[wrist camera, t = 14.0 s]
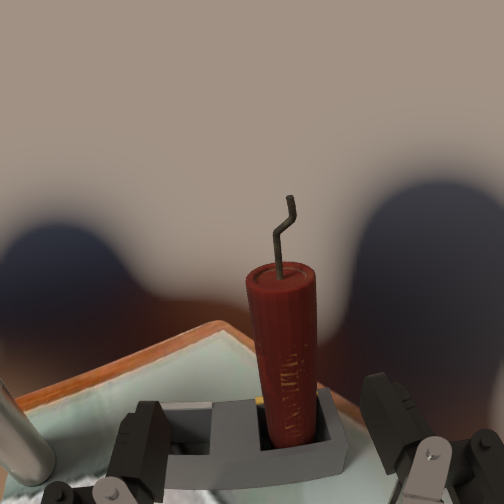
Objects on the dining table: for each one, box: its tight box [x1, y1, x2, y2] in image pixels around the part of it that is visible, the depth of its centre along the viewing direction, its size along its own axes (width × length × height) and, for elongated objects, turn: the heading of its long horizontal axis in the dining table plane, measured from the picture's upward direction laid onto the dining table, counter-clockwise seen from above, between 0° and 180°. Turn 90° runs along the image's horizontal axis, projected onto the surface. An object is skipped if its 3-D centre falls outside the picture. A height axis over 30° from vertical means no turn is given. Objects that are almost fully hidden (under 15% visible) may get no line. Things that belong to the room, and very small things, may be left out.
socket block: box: [160, 387, 348, 490], centre depth 29 cm, size 22×9×7 cm, turn 93°
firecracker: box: [246, 195, 317, 450], centre depth 24 cm, size 5×5×30 cm
